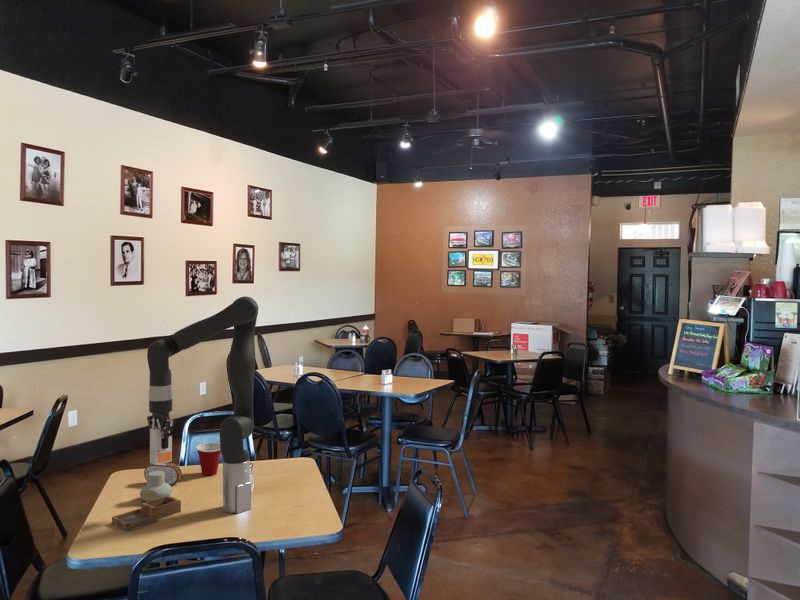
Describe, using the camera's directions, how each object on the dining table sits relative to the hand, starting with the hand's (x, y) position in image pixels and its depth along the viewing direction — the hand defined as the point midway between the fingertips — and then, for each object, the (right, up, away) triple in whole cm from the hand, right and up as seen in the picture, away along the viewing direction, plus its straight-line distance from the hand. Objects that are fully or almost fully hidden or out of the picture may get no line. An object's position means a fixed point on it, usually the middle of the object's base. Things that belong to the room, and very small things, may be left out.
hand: (161, 447), depth 207 cm
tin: (-12, -23, +31) cm, 40 cm away
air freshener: (-7, -23, +14) cm, 28 cm away
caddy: (-2, -23, -3) cm, 24 cm away
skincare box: (0, -5, 0) cm, 6 cm away
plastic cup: (+3, -22, +44) cm, 49 cm away
